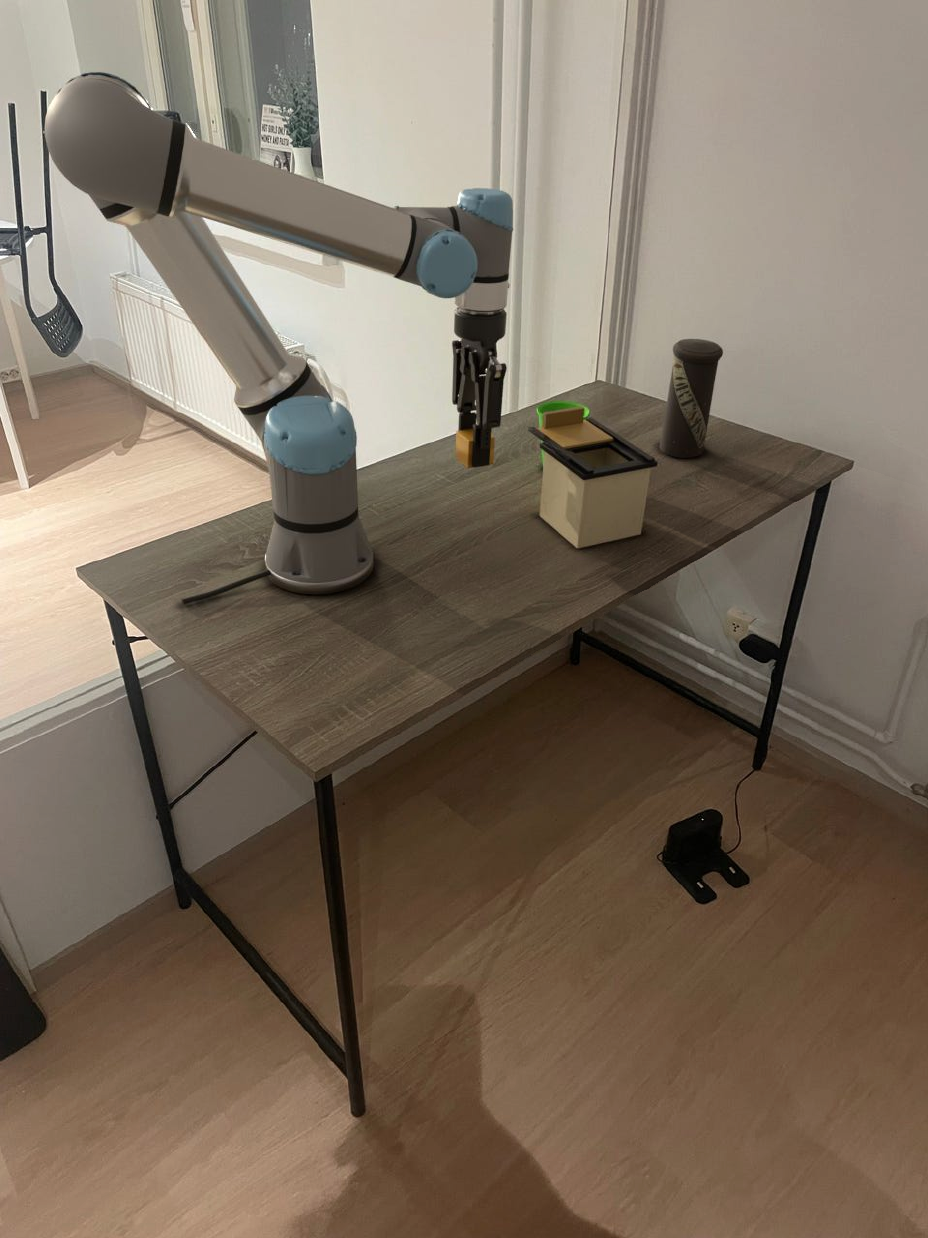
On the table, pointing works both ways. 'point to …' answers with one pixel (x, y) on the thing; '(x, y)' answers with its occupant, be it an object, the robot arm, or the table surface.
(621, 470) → the sliding lid box
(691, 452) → the container
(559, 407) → the cup
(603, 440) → the shutter
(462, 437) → the block
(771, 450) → the table surface
